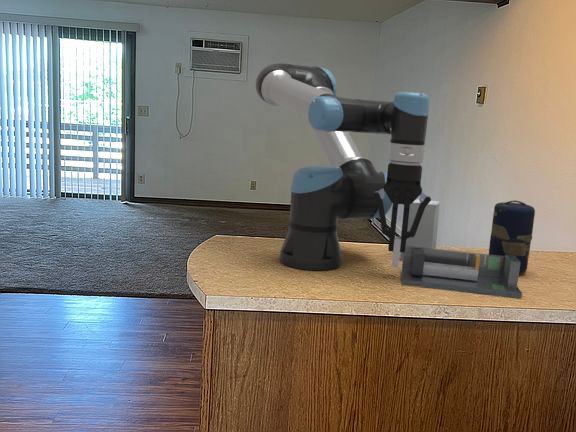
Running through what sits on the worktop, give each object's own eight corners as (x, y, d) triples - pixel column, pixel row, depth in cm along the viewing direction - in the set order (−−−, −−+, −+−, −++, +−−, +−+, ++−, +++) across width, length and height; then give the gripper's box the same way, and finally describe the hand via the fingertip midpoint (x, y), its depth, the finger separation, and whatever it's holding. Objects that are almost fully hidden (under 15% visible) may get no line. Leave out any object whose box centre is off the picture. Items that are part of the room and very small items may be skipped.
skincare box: (435, 259, 149) (442, 201, 146) (430, 264, 143) (437, 204, 140) (403, 254, 152) (409, 197, 149) (397, 259, 146) (404, 200, 144)
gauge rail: (402, 284, 124) (405, 253, 123) (401, 270, 136) (404, 241, 134) (521, 298, 120) (526, 265, 118) (510, 282, 131) (514, 252, 130)
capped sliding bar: (411, 274, 127) (414, 250, 126) (411, 269, 132) (413, 245, 131) (477, 282, 124) (481, 257, 123) (474, 276, 129) (478, 252, 128)
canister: (529, 278, 136) (540, 205, 133) (489, 273, 138) (498, 201, 135) (522, 268, 146) (532, 199, 142) (483, 263, 147) (492, 196, 144)
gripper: (375, 162, 123) (365, 266, 127) (436, 166, 121) (424, 272, 125) (376, 159, 130) (367, 258, 134) (434, 164, 128) (423, 264, 132)
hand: (395, 265), depth 130 cm, fingers closed
